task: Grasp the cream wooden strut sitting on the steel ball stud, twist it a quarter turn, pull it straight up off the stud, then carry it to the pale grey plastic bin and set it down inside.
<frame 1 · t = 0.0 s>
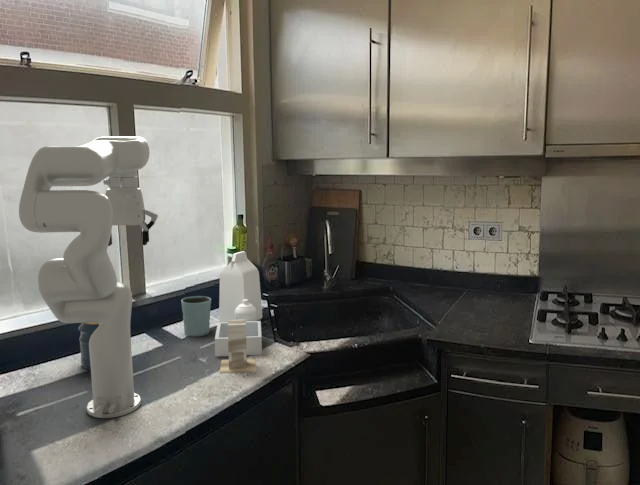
hand: (127, 244, 150), 37 cm above the worktop, tool pointing down, fingers open, 9 cm apart
drinking glass: (197, 332, 189), on the worktop
milk: (241, 320, 202), on the worktop
bin: (239, 350, 171), on the worktop
canister: (104, 363, 161), on the worktop
strut: (238, 365, 155), point 1 cm above the worktop, touching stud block
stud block: (238, 370, 155), on the worktop
spinning top: (246, 333, 188), on the worktop
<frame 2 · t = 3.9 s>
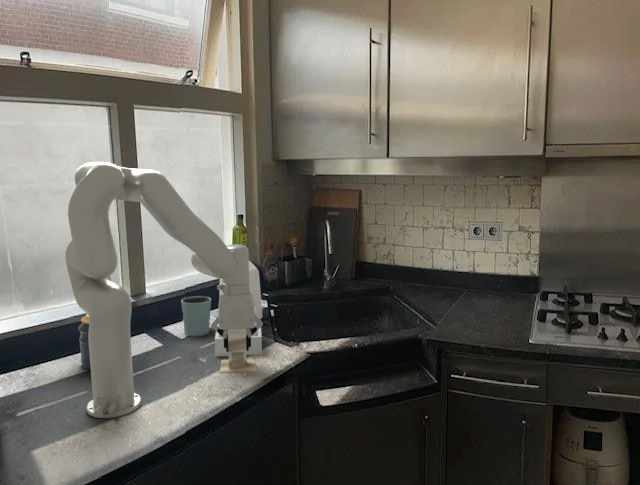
hand: (237, 349, 154), 6 cm above the worktop, tool pointing down, fingers closed on strut, 5 cm apart
strut: (238, 365, 155), point 2 cm above the worktop, touching gripper, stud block
everything else where it was.
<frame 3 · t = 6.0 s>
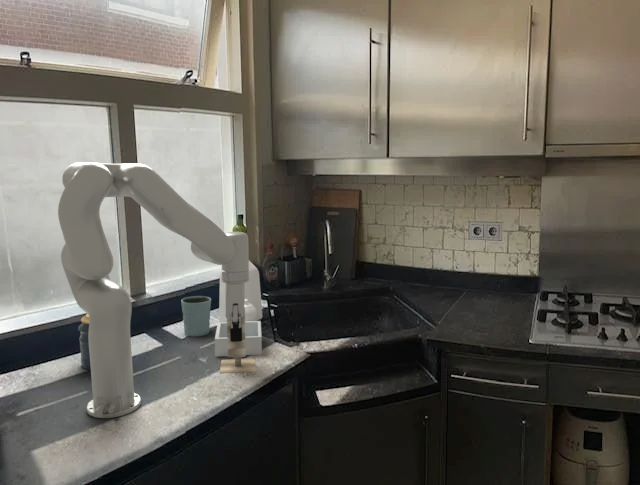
hand: (236, 337, 154), 10 cm above the worktop, tool pointing down, fingers closed on strut, 5 cm apart
strut: (236, 353, 154), point 5 cm above the worktop, touching gripper
everything else where it was.
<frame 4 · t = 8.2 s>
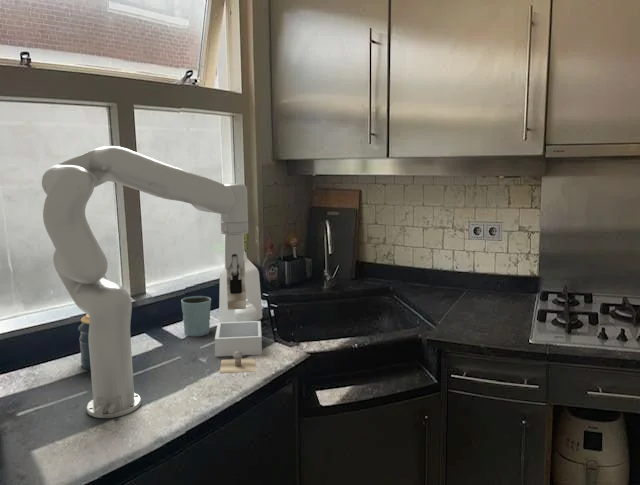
hand: (236, 290, 153), 24 cm above the worktop, tool pointing down, fingers closed on strut, 5 cm apart
strut: (237, 306, 154), point 19 cm above the worktop, touching gripper
everything else where it was.
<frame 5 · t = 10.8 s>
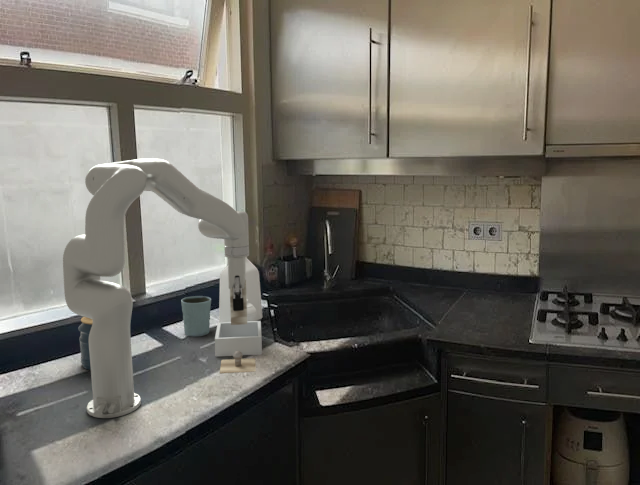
hand: (238, 307, 169), 14 cm above the worktop, tool pointing down, fingers closed on strut, 5 cm apart
strut: (239, 322, 170), point 9 cm above the worktop, touching gripper
everything else where it was.
when the fingers open (8 cm above the worktop, at t = 12.8 s): strut drops 2 cm, resting on bin.
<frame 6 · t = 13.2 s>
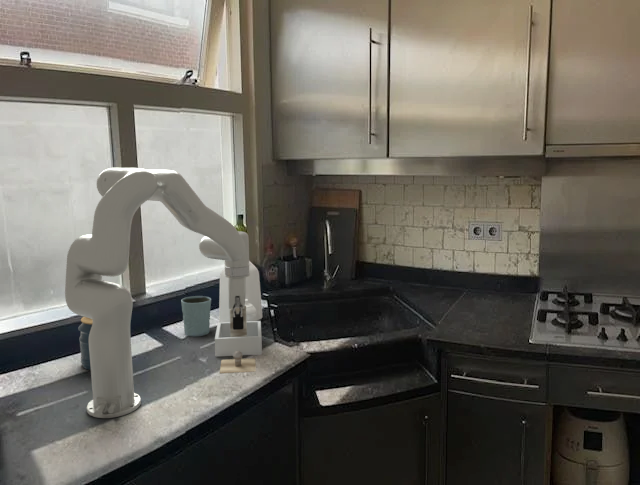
hand: (238, 324, 170), 9 cm above the worktop, tool pointing down, fingers open, 9 cm apart
strut: (239, 347, 171), point 1 cm above the worktop, touching bin
everything else where it was.
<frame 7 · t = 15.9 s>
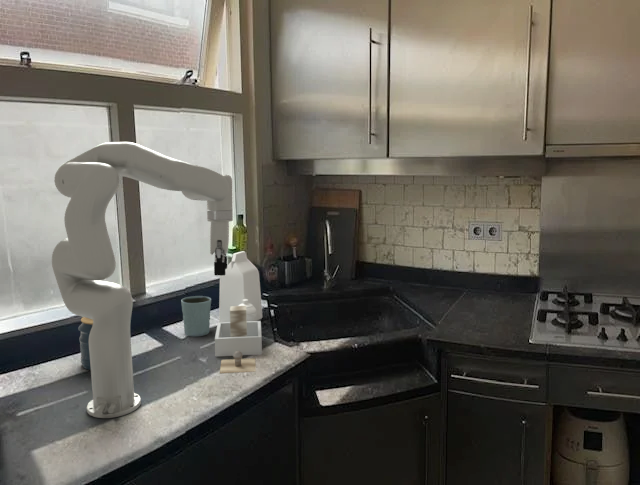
hand: (220, 271, 163), 26 cm above the worktop, tool pointing down, fingers open, 9 cm apart
nothing on the worktop moved.
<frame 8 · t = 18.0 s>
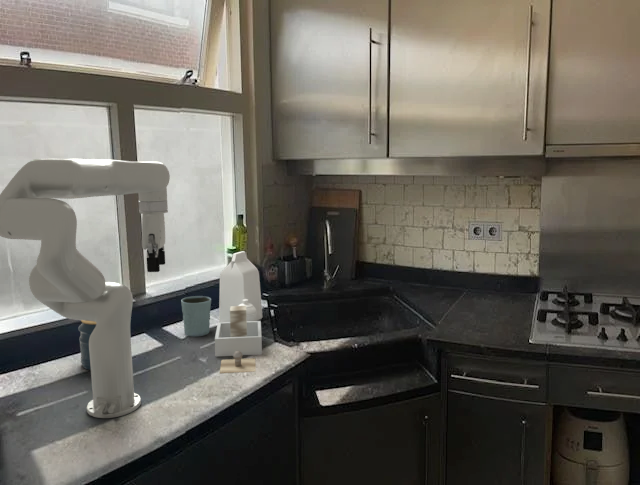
hand: (156, 268, 151), 30 cm above the worktop, tool pointing down, fingers open, 9 cm apart
nothing on the worktop moved.
at the end: strut inside the target area on the bin (0.1 cm from its centre), point 1.0 cm above the bin's base; strut 0.1 cm from the bin (horizontally); the gripper is holding nothing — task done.
